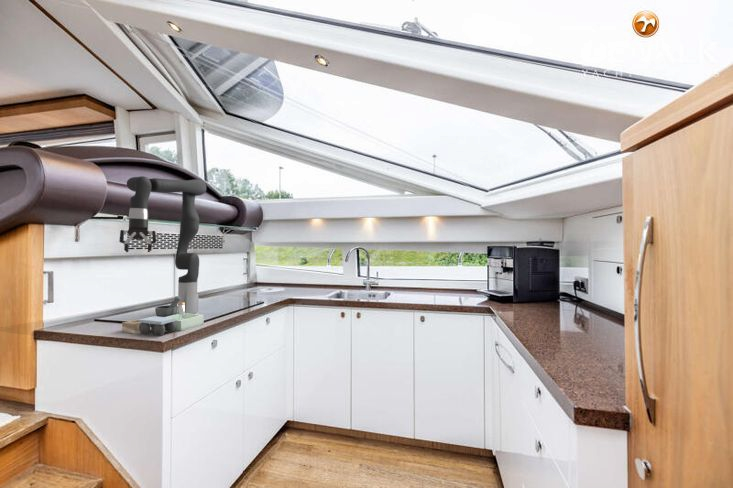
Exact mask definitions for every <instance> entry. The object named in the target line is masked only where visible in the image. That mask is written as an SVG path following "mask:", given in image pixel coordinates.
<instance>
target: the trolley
mask: <svg viewBox="0 0 733 488" xmlns="http://www.w3.org/2000/svg"><path fill="white" fill-rule="evenodd" d="M174 321H176V318H168V317H157V315H154V316H149V317H145V318H140V320H139V322H140V323H141V324H140V325H139V331H140V332H139V333H140V334H142V335H145V334H148V333H149V332H150V331H151V330H152V332H153V333H154V335H156V336H162V335H164V334H165V332H166V333H168V334H169V333H172V332H175V328H176V325H175V323H174ZM149 323H150V325H149ZM163 324H165V326H164V325H163Z"/></svg>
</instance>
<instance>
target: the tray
mask: <svg viewBox="0 0 733 488" xmlns="http://www.w3.org/2000/svg"><path fill="white" fill-rule="evenodd" d="M167 317H168V318H176V321H174V323H175V325H176V328H175V330H174V332H175V331H176V332H178V331H179V332H182V331H185V330H190V329H193V328H196V327H200V326H202V325H204V323H205V321H204V319H205V318H204V317H205V315H204V314H198V313H194V314H187V313H185V319H184V320H179V314H178V313H176V315H171V316H167ZM163 325H164V326H165V324H163Z"/></svg>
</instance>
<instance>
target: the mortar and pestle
mask: <svg viewBox="0 0 733 488" xmlns="http://www.w3.org/2000/svg"><path fill="white" fill-rule="evenodd" d="M180 300H181V298H180V297H178V296H177V295H176V296H175V297H174V299H173V301H171V303H170V304H169V305H167V304H166V305H159V306H156V307H155V308H154V309H155V311H154V312H155V316H157V317H167V316H171V315H176V314H178V302H179V301H180Z"/></svg>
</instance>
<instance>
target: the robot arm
mask: <svg viewBox="0 0 733 488" xmlns="http://www.w3.org/2000/svg"><path fill="white" fill-rule="evenodd" d="M126 186H127V188H128V189H129V190H130V191H132V192H135V193H134V194H133V196H131V197H130V198H129V210H128V211H129V212H128V229H127V230H124V229H121V230H120V231H119V241H118V242H119V243H120V244H121V243H122V244H124V247H123V248H124V251H125V253H129V251H130V250H129V247H130V246H129V245H130V244H129V243H130V242H131V241H132V240H144V241H145V242H146V243H147V253H151V251H152V250H153V249H152V246H153V244H156V242H157V234H156V231H155V230H149V211H148V209H149V205H148V203H149V202H148V201H149V198H150V195H151V193H167V194H168V193H182V194H181V196H182V197H181V198H182V199H181V201H182V204H181V216H180V223H179V224H180V226H179V237H178V244H177V248H176V253H175V259H174V265H175V267H176V269H177V270H183V271H185V270H187V273H186V274H184V275H181V276H179V277H178V281H177V282H178V285H177V289H178V290H177V293H178V294H177V295H178V297H180V298H181V300H180V301H179V302H178V304H177V306H178V311H177V314H179V303H180V302H185V313H187V314H198V313H199V294H198V279H199V272H200V271H199V270H200V257H199V255H198V253H194V252H188V249H189V245H190V244H191V242H192V241H193V239H194V238H195V237H196V236H197V234H198V232H199V229H200V216H199V214H198V211H197V210H196V207H195V206H196V204H195V200H196V197H199V196H202V195H204V194H205V193H206V192H207V185H206V183H205V182H204V181H203V180H202V179H197V178H196V179H195V178H194V179H188V180H184V179H183V180H182V179H181V180H178V179H169V178H160V177H159V178H158V177H157V178H156V177H155V178H154V177H153V178H149V177H146V176H142V175H141V176H132V177H130V178H128V180H126ZM127 234H128V235H129V236H128V237H127V238H126V240H124V239H125V238H124V237H125V235H127ZM149 234H150V236H152V241H151V240H150V238H148V235H149Z"/></svg>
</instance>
